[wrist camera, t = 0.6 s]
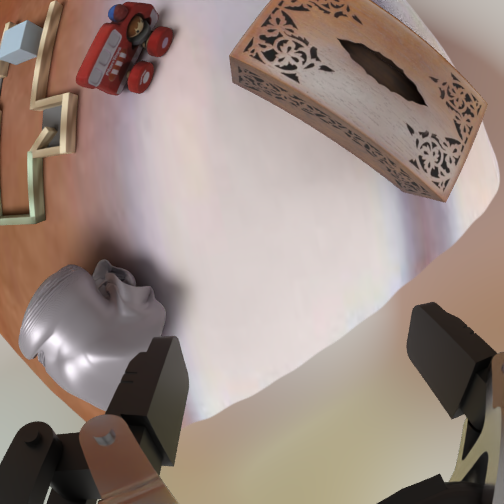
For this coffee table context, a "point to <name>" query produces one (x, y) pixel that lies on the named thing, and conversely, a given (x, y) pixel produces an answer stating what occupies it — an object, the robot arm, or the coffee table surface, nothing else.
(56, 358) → the grey rounded piece
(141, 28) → the toy fire truck
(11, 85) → the coffee table surface
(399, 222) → the coffee table surface
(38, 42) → the blue block
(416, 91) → the tissue box cover
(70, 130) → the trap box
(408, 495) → the robot arm
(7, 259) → the coffee table surface
